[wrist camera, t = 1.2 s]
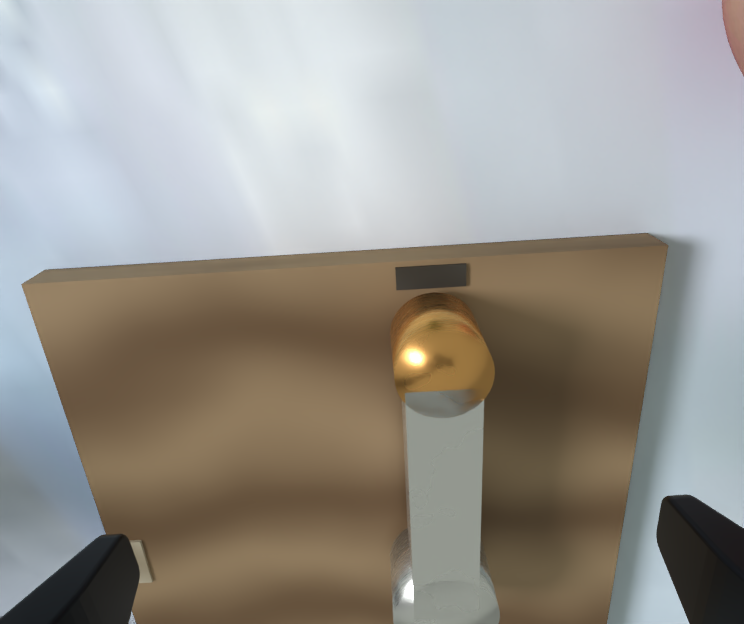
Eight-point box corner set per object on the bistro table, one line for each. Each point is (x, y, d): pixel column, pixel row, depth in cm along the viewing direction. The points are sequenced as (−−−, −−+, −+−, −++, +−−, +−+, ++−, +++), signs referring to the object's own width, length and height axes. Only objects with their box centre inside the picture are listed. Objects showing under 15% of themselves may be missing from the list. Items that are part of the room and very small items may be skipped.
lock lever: (483, 585, 24) (498, 651, 21) (392, 590, 24) (395, 656, 21) (491, 288, 18) (513, 326, 16) (373, 296, 19) (374, 334, 16)
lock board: (587, 642, 29) (600, 673, 27) (169, 663, 29) (159, 695, 27) (647, 233, 20) (670, 246, 18) (45, 269, 20) (19, 285, 19)
